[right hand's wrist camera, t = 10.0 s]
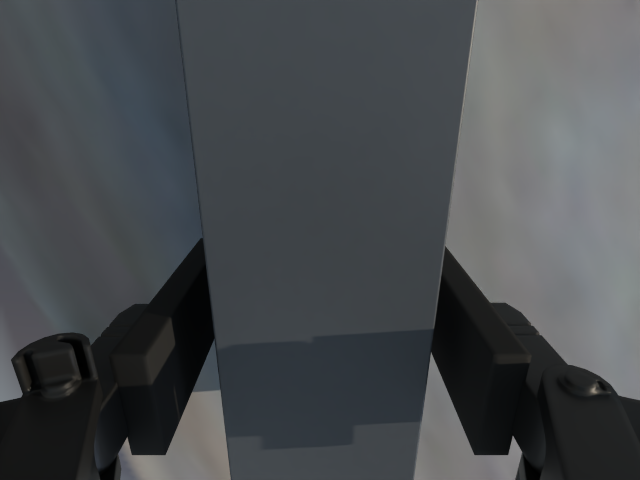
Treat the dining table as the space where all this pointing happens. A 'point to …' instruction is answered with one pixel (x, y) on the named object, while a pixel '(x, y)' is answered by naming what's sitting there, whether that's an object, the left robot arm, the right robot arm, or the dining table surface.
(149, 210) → the dining table surface
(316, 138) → the beam
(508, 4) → the dining table surface
